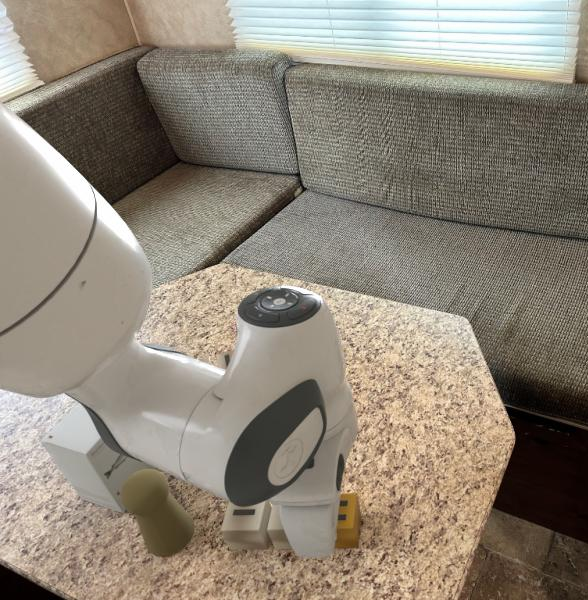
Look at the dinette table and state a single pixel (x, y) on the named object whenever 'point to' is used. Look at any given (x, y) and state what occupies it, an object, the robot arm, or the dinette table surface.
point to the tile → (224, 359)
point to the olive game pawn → (157, 513)
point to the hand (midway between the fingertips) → (334, 496)
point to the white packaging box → (89, 460)
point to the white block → (277, 530)
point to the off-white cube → (247, 526)
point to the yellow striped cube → (348, 521)
